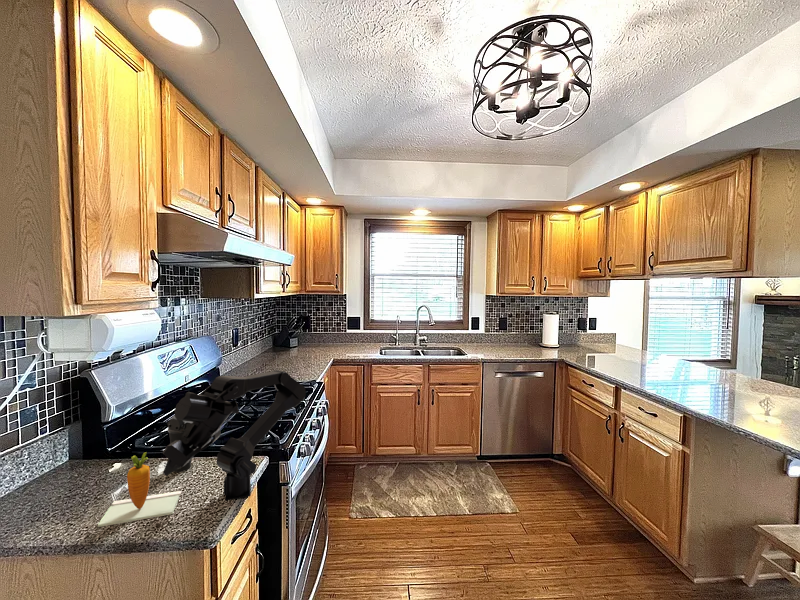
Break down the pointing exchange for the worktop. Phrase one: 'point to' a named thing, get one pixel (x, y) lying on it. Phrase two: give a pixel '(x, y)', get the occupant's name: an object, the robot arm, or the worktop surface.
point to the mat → (139, 511)
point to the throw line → (148, 498)
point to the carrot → (138, 481)
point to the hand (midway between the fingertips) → (175, 466)
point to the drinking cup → (178, 436)
